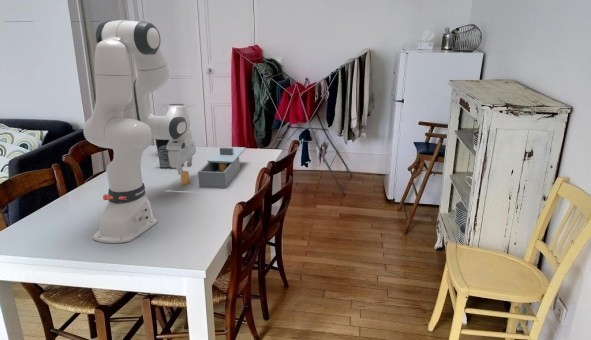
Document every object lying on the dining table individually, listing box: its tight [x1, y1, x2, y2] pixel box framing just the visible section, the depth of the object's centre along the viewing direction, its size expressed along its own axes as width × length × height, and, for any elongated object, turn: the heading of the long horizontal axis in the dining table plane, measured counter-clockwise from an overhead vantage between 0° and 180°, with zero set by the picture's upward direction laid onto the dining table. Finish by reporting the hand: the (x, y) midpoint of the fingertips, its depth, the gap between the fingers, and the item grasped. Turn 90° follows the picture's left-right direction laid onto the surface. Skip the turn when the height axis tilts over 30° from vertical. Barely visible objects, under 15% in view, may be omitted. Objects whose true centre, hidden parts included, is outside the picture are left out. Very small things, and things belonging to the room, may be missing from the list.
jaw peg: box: [180, 170, 191, 185], centre depth 183 cm, size 4×4×6 cm
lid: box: [207, 146, 247, 163], centre depth 196 cm, size 22×12×4 cm, turn 171°
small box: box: [157, 145, 185, 169], centre depth 206 cm, size 11×6×10 cm, turn 84°
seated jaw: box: [219, 163, 227, 172], centre depth 191 cm, size 4×4×6 cm
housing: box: [197, 156, 241, 189], centre depth 187 cm, size 22×12×8 cm, turn 171°
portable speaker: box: [154, 139, 169, 152], centre depth 223 cm, size 9×9×20 cm
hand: (185, 170), depth 182 cm, fingers open, 8 cm apart
